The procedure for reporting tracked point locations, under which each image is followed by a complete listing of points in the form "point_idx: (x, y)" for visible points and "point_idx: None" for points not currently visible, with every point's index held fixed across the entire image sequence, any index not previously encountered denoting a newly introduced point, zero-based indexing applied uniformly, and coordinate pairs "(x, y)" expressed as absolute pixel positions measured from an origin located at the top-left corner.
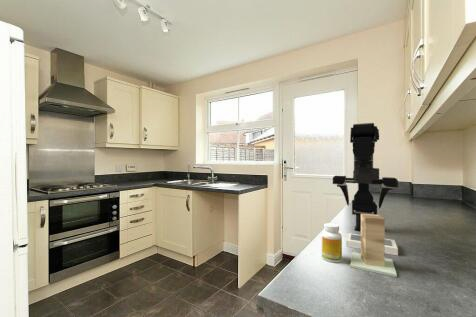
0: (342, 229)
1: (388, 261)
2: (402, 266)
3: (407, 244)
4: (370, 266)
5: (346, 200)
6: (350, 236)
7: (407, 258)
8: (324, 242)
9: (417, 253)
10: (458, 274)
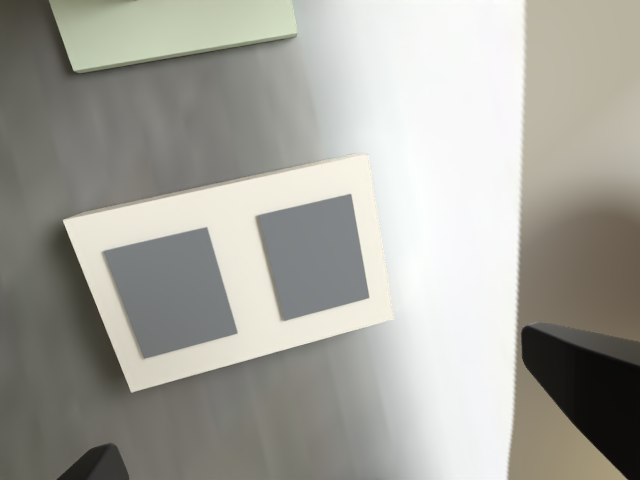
0: (442, 447)
1: (79, 11)
2: (9, 29)
3: None
4: None
5: (617, 338)
6: (365, 260)
7: (26, 202)
8: None
9: (6, 336)
10: None
